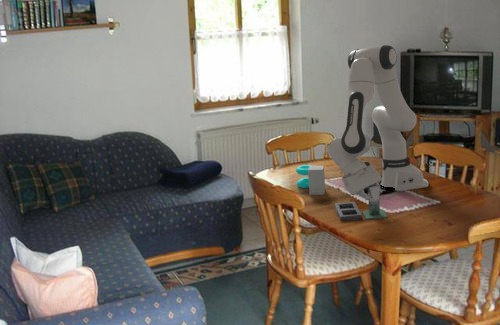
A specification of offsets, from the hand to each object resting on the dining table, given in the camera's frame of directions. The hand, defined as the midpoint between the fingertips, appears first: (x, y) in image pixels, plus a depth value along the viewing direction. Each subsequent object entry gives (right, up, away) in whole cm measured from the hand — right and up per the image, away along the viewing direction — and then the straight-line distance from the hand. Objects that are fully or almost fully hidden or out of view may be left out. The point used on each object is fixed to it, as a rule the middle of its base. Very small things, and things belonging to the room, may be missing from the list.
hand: (374, 196), depth 251 cm
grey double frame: (-10, -8, +8) cm, 15 cm away
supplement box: (-20, -1, +39) cm, 44 cm away
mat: (0, -8, +3) cm, 9 cm away
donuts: (-24, +2, +50) cm, 56 cm away
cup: (0, -8, +3) cm, 8 cm away
